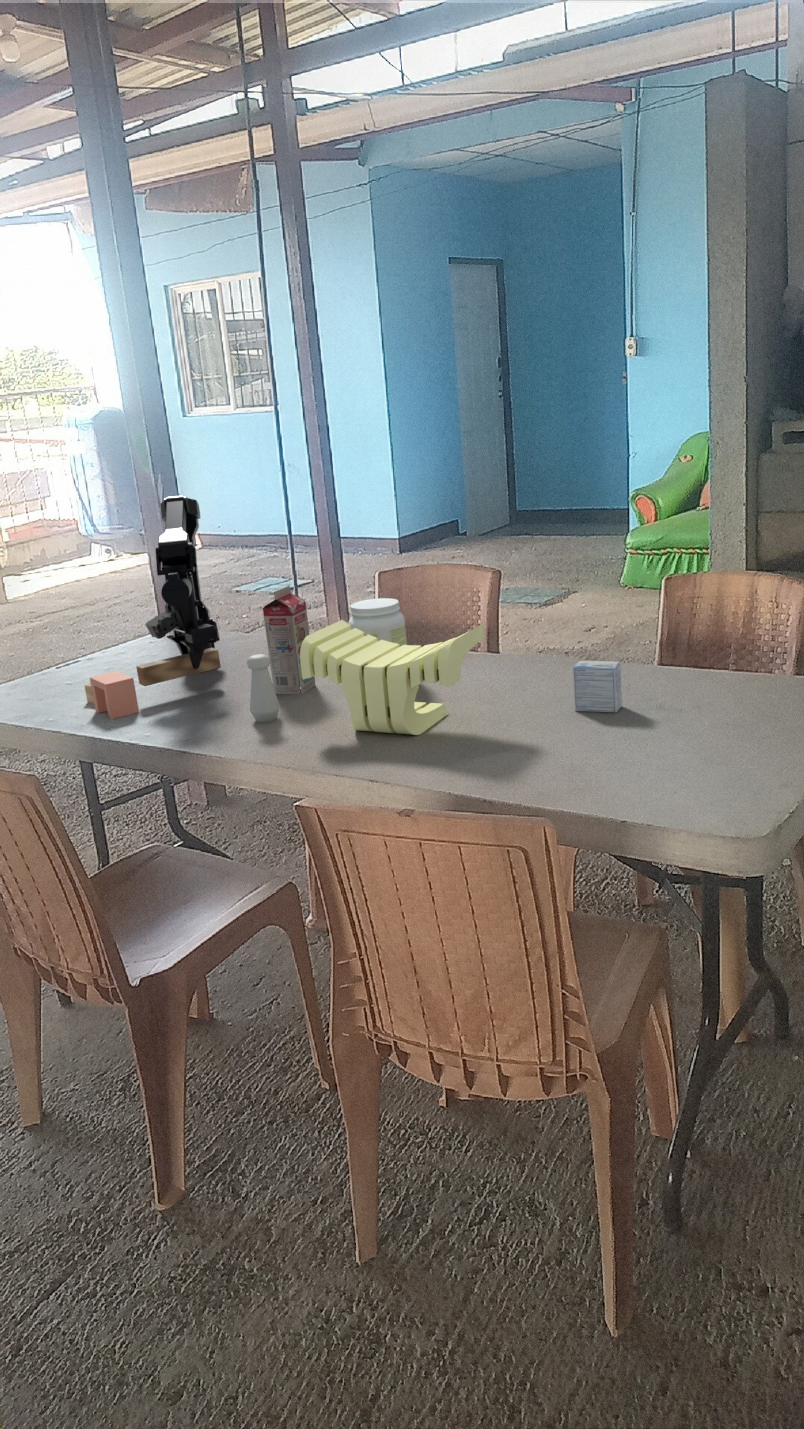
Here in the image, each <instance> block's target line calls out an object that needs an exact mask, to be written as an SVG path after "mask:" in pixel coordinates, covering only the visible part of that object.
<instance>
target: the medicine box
mask: <svg viewBox="0 0 804 1429" xmlns="http://www.w3.org/2000/svg"><path fill="white" fill-rule="evenodd" d="M621 670H622V669H621V662H620V661H604V660H594V661H593V660H579V661H578V662H577V663H576V664H575V665H574V666H573V667H572V672H573V673H572V674H573V675H572V676H573V692H574V694H573V695H574V696H573V697H574V710H575V712H592V713H597V712H598V713H614V714H615V713H616V714H617V712H619V710H620V709H621V707H622V706H623V695H622V694H623V692H622V674H621V673H622V671H621Z"/></svg>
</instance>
